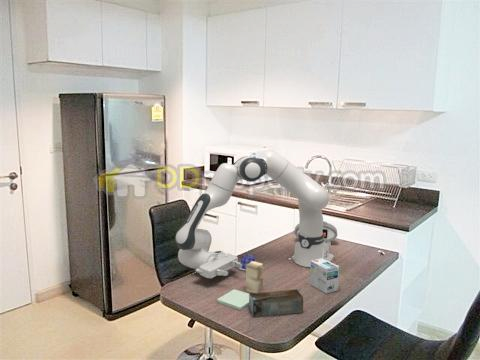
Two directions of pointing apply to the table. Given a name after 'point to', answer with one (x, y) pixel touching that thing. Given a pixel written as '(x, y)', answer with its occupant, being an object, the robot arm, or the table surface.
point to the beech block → (254, 277)
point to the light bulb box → (324, 275)
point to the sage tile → (235, 299)
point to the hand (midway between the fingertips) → (234, 270)
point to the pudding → (246, 261)
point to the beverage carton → (275, 303)
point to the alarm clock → (327, 229)
